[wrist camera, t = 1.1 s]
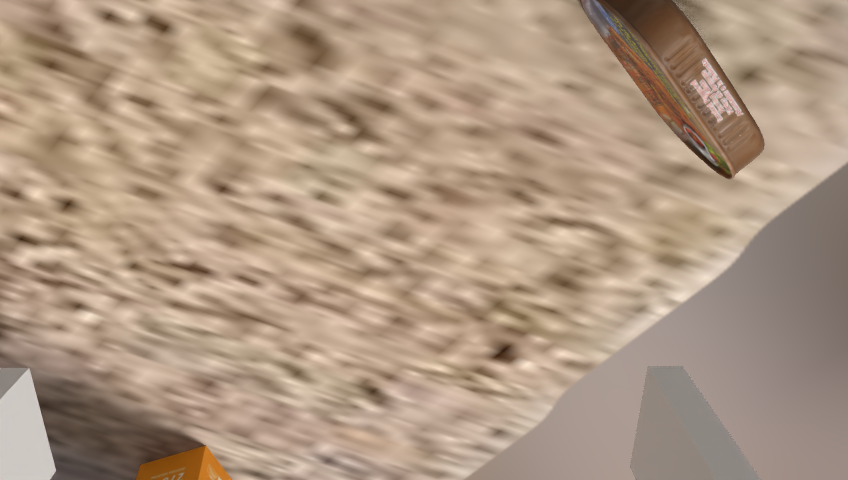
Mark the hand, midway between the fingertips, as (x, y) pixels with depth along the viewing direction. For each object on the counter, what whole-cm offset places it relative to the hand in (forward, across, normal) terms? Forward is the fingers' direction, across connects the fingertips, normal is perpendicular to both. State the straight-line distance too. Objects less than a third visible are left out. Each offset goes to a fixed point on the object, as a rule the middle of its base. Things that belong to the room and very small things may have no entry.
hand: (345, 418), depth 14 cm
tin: (+32, +17, +4) cm, 36 cm away
